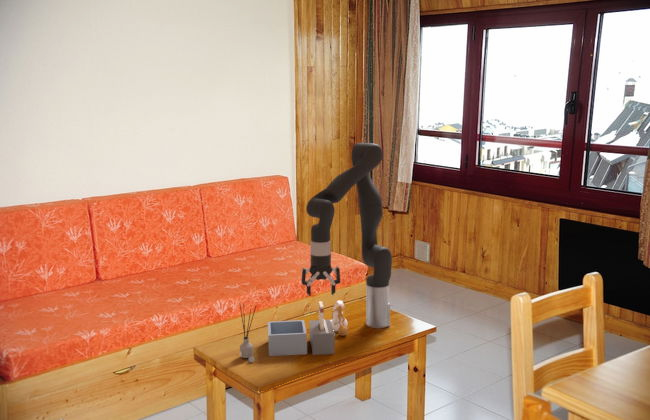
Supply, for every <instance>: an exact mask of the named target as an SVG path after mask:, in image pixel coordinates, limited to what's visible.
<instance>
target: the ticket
mask: <svg viewBox="0 0 650 420" xmlns="http://www.w3.org/2000/svg"><path fill="white" fill-rule="evenodd" d="M323 303H324V302H323V301H318V320H319V330H324V319H325V318H324V317H325V316H324V315H325V314H324V312H325V311H324V308H325V307H324V304H323Z"/></svg>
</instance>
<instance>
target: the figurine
mask: <svg viewBox="0 0 650 420" xmlns="http://www.w3.org/2000/svg"><path fill="white" fill-rule="evenodd" d="M342 309H343V310H345V311H346V313H348V314H349V316H351V314H350V311H348V309H347V308H346V307H344V308H343V307H342V306H341V305H340V306H337V307H336V309H335V310H333V309H332V312H331V320H333V313H334V311H336V310H337V312H338V314H339V315H337V316H338V319H339V320H340V321H339V324H340V327H339V328H338V331H337V332H338V334H339V336H341V337H345V336H346V335H348V333H349V329H348V327H346V326H345V325H344V323H343V322H344V320H345V319H346V318H345V316H344V313H343V314H342V312H343V310H342ZM341 317H342V319H343V320H342V323H343V326H341V323H340V322H341Z"/></svg>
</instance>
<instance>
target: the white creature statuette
mask: <svg viewBox="0 0 650 420" xmlns="http://www.w3.org/2000/svg"><path fill="white" fill-rule="evenodd" d="M340 305H341V306H342V307H343V308H345V304H344V302H343V300H339V299H338V300H336V302H335V304H333V308H332V311H333V310H335V309H336V307H337V306H340ZM343 310H344V309H342V314H344V312H343ZM337 315H339V314H338V312H337V310H336V311H334V313H333V320H332V319H329V320H330V321H331V324H332V328H333V330H334V333H335V332H338V328H339V327H340V324H339V321H340V320H339V319H338V316H337ZM342 320H343V319H342V317H341V322H340V323H341V326H343V323H344V325H345V326H346V327H347V326H348V320H347V319H346V318H345V320H344V322H343V323H342ZM347 328H348V327H347Z"/></svg>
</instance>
